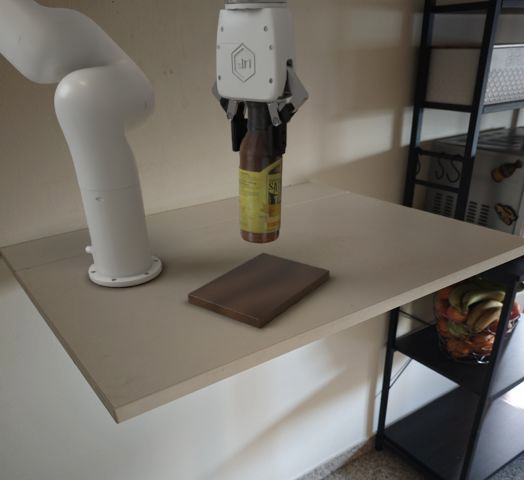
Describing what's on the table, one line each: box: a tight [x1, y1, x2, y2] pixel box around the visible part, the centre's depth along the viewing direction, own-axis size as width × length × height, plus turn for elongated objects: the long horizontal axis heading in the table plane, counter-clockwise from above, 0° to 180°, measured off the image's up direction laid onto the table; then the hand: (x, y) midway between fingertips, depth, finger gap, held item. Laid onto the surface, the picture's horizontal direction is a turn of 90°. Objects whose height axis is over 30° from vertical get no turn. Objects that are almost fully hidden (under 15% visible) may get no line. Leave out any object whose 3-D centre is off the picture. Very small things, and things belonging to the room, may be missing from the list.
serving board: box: [187, 252, 331, 329], centre depth 81 cm, size 14×20×2 cm
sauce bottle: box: [238, 101, 284, 245], centre depth 71 cm, size 7×6×20 cm
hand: (258, 151), depth 70 cm, fingers closed on sauce bottle, 5 cm apart
